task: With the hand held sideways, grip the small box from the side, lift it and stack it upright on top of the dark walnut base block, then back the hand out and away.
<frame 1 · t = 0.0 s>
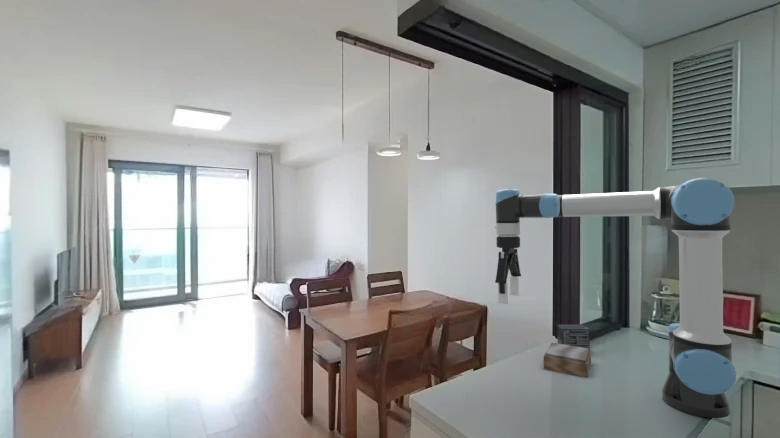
hand: (509, 299, 122), 28 cm above the worktop, tool pointing down, fingers open, 13 cm apart
base: (567, 365, 135), on the worktop
small box: (573, 352, 148), on the worktop
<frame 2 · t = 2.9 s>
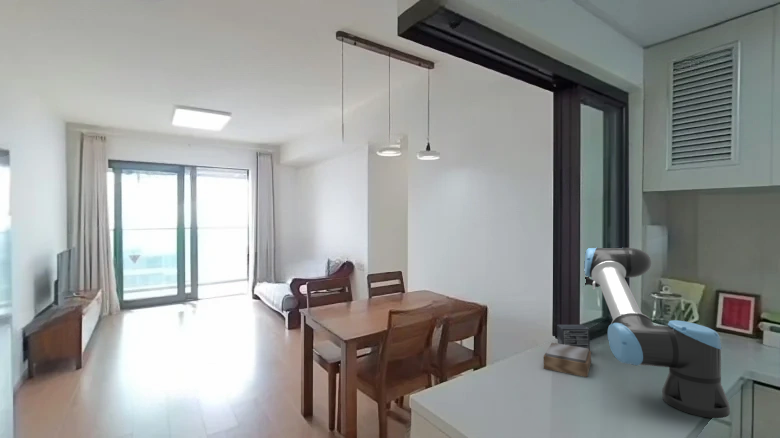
hand: (575, 285, 158), 25 cm above the worktop, tool horizontal, fingers open, 13 cm apart
nothing on the worktop moved.
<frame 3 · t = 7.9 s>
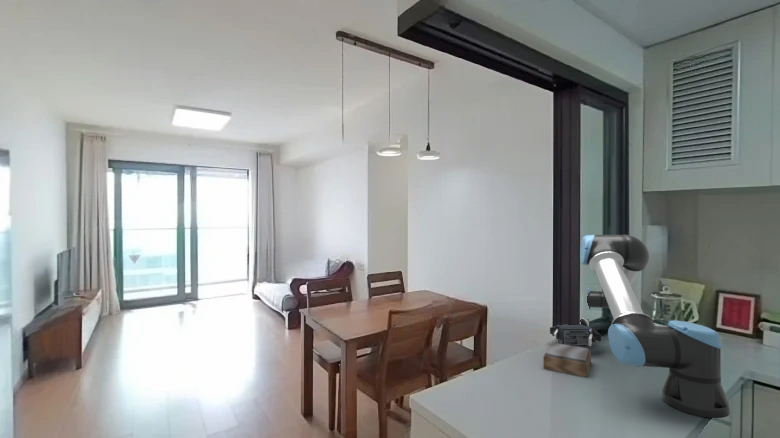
hand: (572, 339, 145), 6 cm above the worktop, tool horizontal, fingers closed on small box, 12 cm apart
small box: (573, 352, 148), on the worktop, touching gripper
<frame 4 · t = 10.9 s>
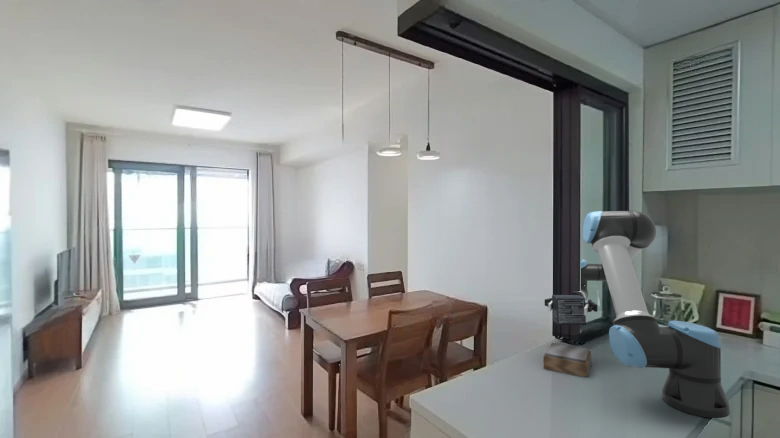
hand: (566, 309, 139), 20 cm above the worktop, tool horizontal, fingers closed on small box, 12 cm apart
small box: (568, 323, 142), point 13 cm above the worktop, touching gripper
when the fingers open (13 cm above the worktop, at t = 13.8 s): small box drops 1 cm, resting on base.
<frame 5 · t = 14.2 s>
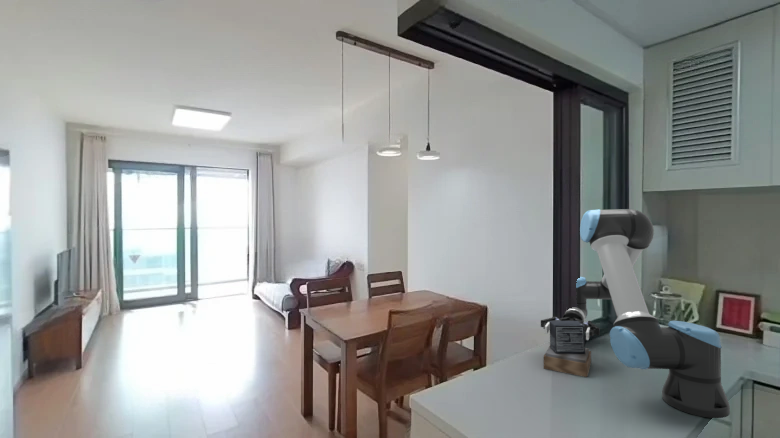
hand: (565, 333, 132), 13 cm above the worktop, tool horizontal, fingers open, 13 cm apart
small box: (567, 351, 135), point 5 cm above the worktop, touching base
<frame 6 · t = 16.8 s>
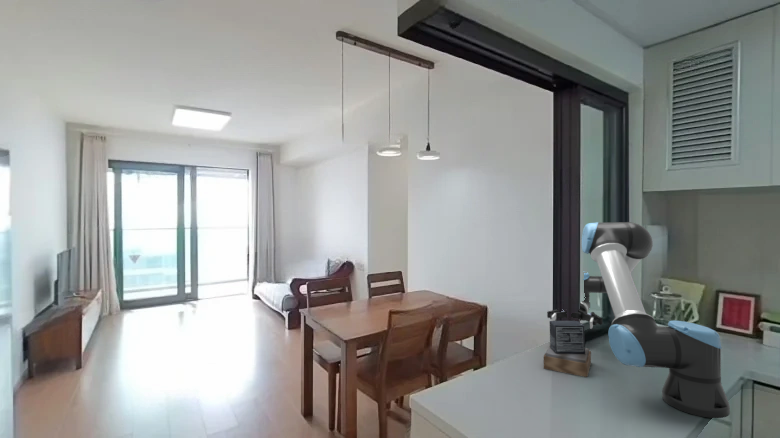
hand: (571, 322, 143), 13 cm above the worktop, tool horizontal, fingers open, 13 cm apart
nothing on the worktop moved.
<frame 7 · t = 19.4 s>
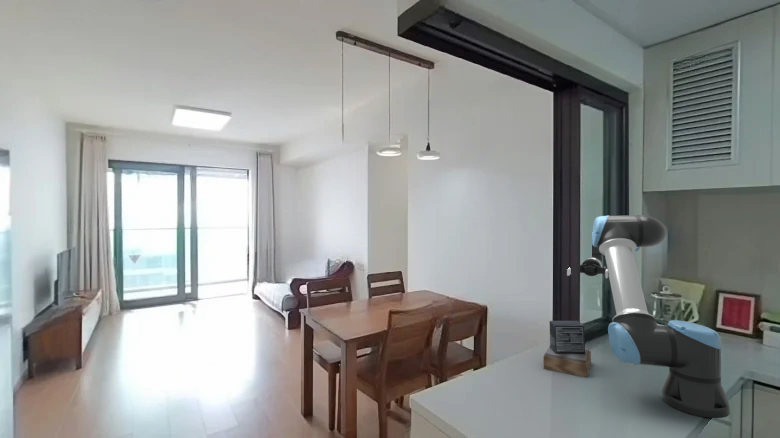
hand: (586, 273, 147), 32 cm above the worktop, tool horizontal, fingers open, 13 cm apart
nothing on the worktop moved.
at the end: small box inside the target area on the base (0.1 cm from its centre), point 5.3 cm above the base's base; small box tilted 0°; the gripper is holding nothing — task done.
